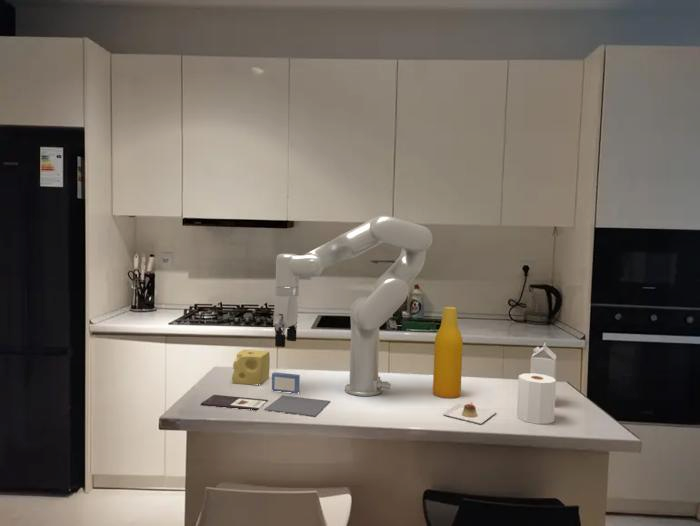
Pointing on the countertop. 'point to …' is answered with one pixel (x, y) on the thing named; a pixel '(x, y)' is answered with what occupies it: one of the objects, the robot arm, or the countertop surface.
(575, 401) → the countertop surface
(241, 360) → the cheese
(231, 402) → the chocolate bar
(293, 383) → the card box
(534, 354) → the milk carton
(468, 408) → the dessert
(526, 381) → the toilet paper
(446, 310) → the beer bottle
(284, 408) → the mat
